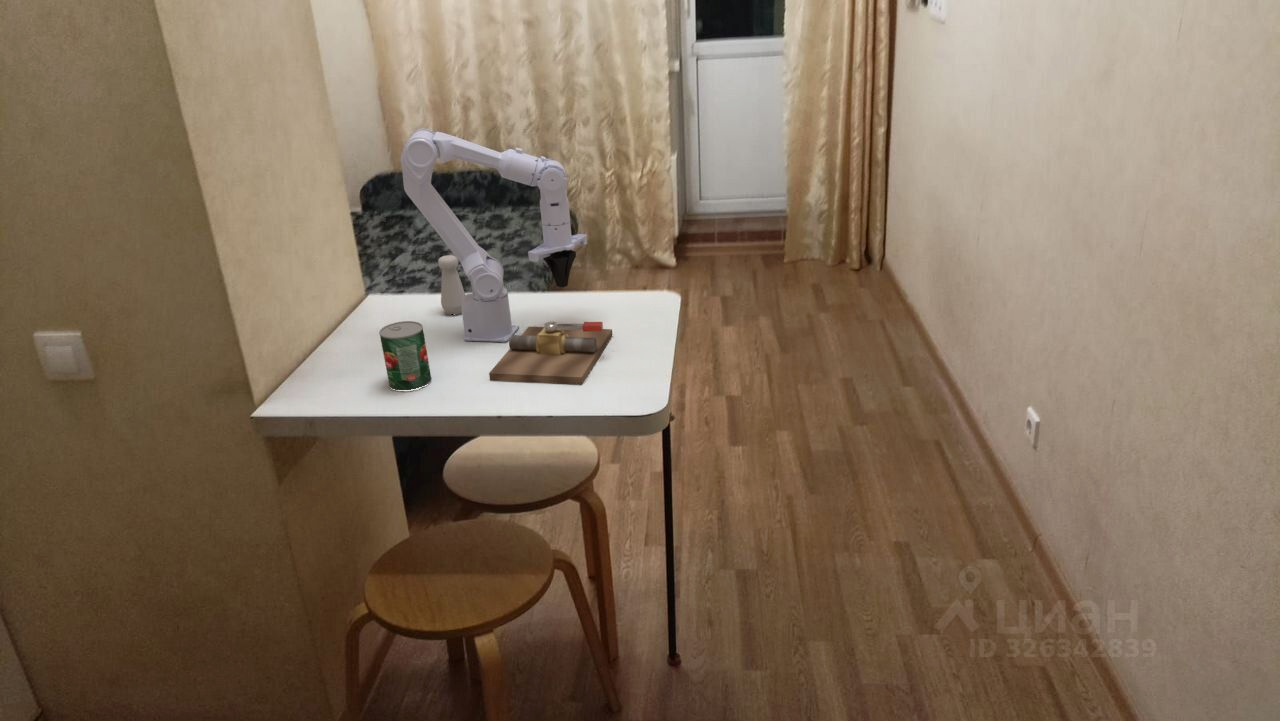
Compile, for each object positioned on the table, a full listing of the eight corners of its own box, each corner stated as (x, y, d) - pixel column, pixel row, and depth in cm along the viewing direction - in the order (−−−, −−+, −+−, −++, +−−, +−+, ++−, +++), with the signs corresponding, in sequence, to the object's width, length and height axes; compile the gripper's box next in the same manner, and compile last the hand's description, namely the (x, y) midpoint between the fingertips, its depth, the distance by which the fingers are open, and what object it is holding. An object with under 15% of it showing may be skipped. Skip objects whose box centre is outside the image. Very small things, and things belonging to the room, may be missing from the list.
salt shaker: (456, 305, 211) (448, 251, 206) (474, 310, 208) (466, 254, 203) (437, 314, 207) (428, 258, 201) (455, 318, 204) (446, 262, 198)
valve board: (489, 380, 173) (486, 353, 171) (529, 333, 193) (526, 308, 191) (582, 384, 169) (579, 357, 167) (612, 335, 189) (610, 310, 187)
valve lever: (546, 327, 180) (545, 321, 180) (603, 327, 179) (602, 321, 178) (543, 332, 178) (543, 326, 177) (601, 331, 177) (600, 326, 176)
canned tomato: (440, 380, 174) (431, 326, 170) (406, 395, 169) (396, 340, 165) (414, 370, 179) (405, 317, 175) (380, 385, 174) (370, 331, 169)
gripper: (542, 233, 178) (549, 299, 184) (595, 216, 188) (600, 279, 193) (518, 228, 183) (525, 293, 188) (571, 211, 192) (577, 273, 198)
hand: (562, 285), depth 191 cm, fingers closed
